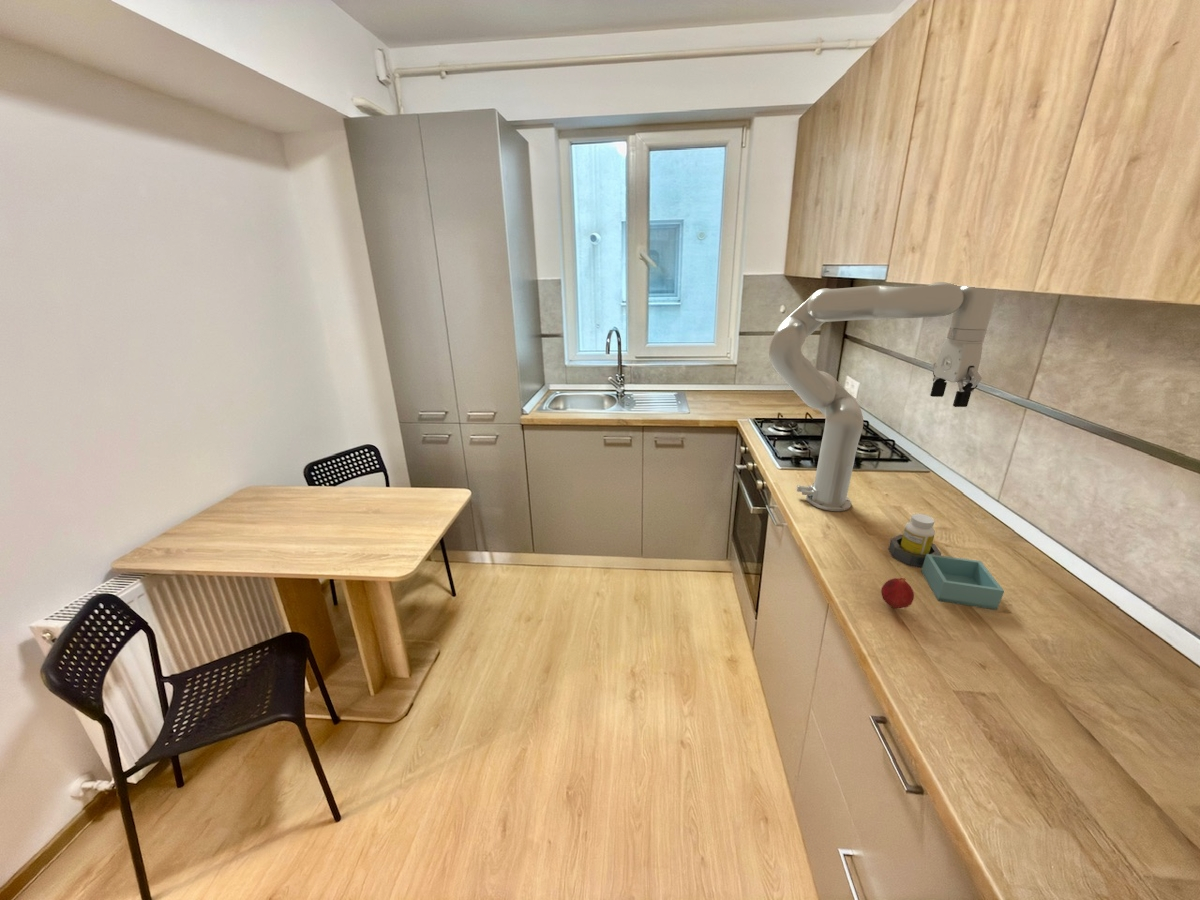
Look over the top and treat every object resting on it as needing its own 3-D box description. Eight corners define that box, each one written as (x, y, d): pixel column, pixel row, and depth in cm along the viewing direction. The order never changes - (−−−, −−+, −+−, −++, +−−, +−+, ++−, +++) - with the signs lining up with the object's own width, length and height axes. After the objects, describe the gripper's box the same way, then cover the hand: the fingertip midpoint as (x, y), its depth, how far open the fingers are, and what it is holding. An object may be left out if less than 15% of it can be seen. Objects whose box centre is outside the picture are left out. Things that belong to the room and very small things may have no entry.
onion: (880, 612, 99) (888, 582, 96) (876, 596, 104) (884, 566, 101) (911, 619, 97) (921, 588, 94) (906, 602, 102) (915, 572, 99)
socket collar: (896, 564, 115) (898, 554, 114) (885, 542, 124) (887, 532, 123) (942, 570, 113) (945, 560, 111) (928, 548, 122) (931, 538, 120)
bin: (937, 600, 103) (944, 582, 101) (921, 571, 113) (926, 553, 111) (996, 610, 100) (1004, 590, 98) (974, 578, 110) (980, 561, 108)
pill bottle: (918, 549, 121) (929, 512, 117) (932, 564, 115) (944, 525, 111) (893, 548, 122) (903, 511, 117) (905, 562, 116) (916, 524, 112)
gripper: (930, 330, 125) (914, 392, 132) (973, 340, 109) (953, 410, 116) (959, 330, 125) (942, 393, 131) (1007, 340, 109) (985, 411, 115)
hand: (947, 401), depth 123 cm, fingers open, 9 cm apart
